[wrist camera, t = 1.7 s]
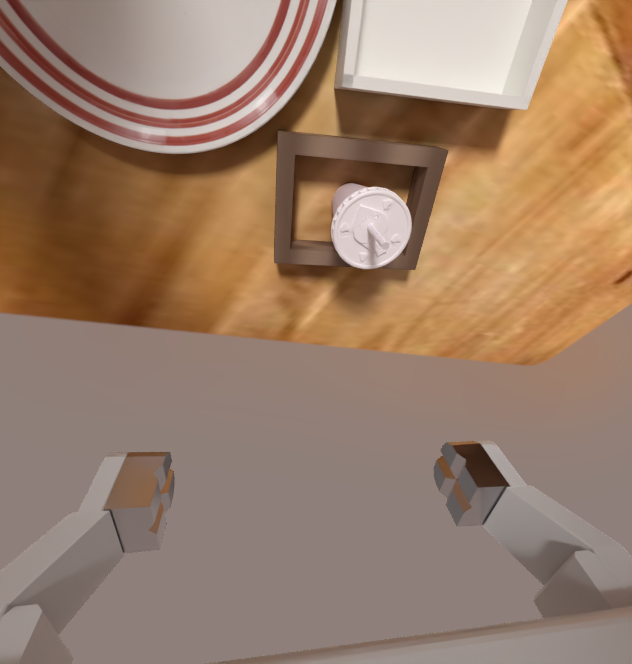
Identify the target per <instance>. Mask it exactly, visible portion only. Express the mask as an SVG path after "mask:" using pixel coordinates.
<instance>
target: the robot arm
mask: <svg viewBox="0 0 632 664" xmlns="http://www.w3.org/2000/svg"><path fill="white" fill-rule="evenodd" d="M441 453H442V454H443V456H441V457H440V458H439V459H437V460H436V463H435V466H434V478H435V482H436V485H437V487H438V489H439V491H440V492H441V493H442V494H443V495H445V496H446V497H447V503H446V506H447V508H448V510H449V511H450V514H451V515H452V518H453V519H454V522H455V524H456V526H474V525H483V527H484V528H485V529H486V530H487V531H488V532H489V533H490V534H491V535H492V536H493V537H494V538H495V539H496V540H497V541H498V542H499V543H500V544H501V545H502V546H503V547H504V548H506V549H507V550H508V551H509V552H510V553H511V554H512V555H513V556H514V557H515V558H516V559H517V560H518V561H519V562H520V563H521V564H522V565H523V566H524V567H525V568H526V569H527V570H528V571H529V572H531V573H532V574H533V575H534V576H535V577H536V578H537V579H538V580H539V581H540V582H541V583H542V584H543V585H544V586H543V587H542V589H541V590H540V591H539V592H538V593H537V594H536V595H535V598H534V602H535V604H536V606H537V608H538V610H539V611H540V613H541V615H542V617H543V618H540V619H533V620H526V621H519V622H511V623H503V624H496V625H488V626H482V627H473V628H466V629H459V630H451V631H444V632H437V633H429V634H422V635H414V636H407V637H400V638H392V639H385V640H377V641H370V642H362V643H355V644H348V645H341V646H333V647H326V648H319V649H311V650H303V651H296V652H289V653H281V654H274V655H266V656H259V657H251V658H245V659H237V660H230V661H222V662H215V663H208V664H632V557H631V556H630V555H629V553H628V552H627V551H626V550H625V549H624V548H623V546H622V545H620V544H619V543H617V542H616V541H614V540H613V539H611V538H610V537H608V536H606V535H605V534H604V533H602V532H601V531H599V530H598V529H596V528H595V527H593V526H592V525H590V524H588V523H587V522H585V521H584V520H582V519H581V518H579V517H578V516H576V515H575V514H573V513H572V512H570V511H569V510H567V509H566V508H564V507H563V506H561V505H560V504H558V503H557V502H555V501H554V500H552V499H551V498H549V497H548V496H546V495H545V494H543V493H542V492H540V491H539V490H537V489H536V488H534V487H533V486H527V485H526V484H525V482H524V481H523V480H522V478H521V477H520V476H519V474H518V473H517V472H516V470H515V469H514V468H513V466H512V465H511V464H510V462H509V461H508V460H507V458H506V457H505V456H504V454H503V453H502V452H501V450H500V449H499V448H498V446H497V445H496V444H495V443H494V442H492V441H476V442H475V441H467V442H447V443H445V444H444V445H443V446H442V448H441ZM171 462H172V459H171V454H170V452H130V453H129V452H128V453H109V454H108V455H107V456H106V457H105V458H104V459H103V462H102V463H101V465H100V468H99V469H98V471H97V473H96V476H95V478H94V480H93V482H92V484H91V486H90V488H89V490H88V492H87V494H86V496H85V498H84V500H83V502H82V504H81V506H80V508H79V510H78V512H73V513H70V514H69V515H67V516H66V517H65V518H64V519H62V520H61V521H60V522H59V523H58V524H56V525H55V526H54V527H53V528H52V529H51V530H49V531H48V532H47V533H46V534H44V535H43V536H42V537H41V538H40V539H38V540H37V541H36V542H35V543H33V544H32V545H31V546H30V547H29V548H27V549H26V550H25V551H24V552H23V553H21V554H20V555H19V556H18V557H16V558H15V559H14V560H13V561H12V562H10V563H9V564H8V565H7V566H6V567H4V568H3V569H2V570H1V571H0V664H72V661H73V657H72V655H71V653H70V651H69V650H68V648H67V647H66V645H65V644H64V642H63V641H62V640H61V638H60V637H59V634H60V633H61V631H62V630H63V629H64V628H65V626H66V625H67V624H68V623H69V622H70V620H71V619H72V618H73V617H74V616H75V614H76V613H77V612H78V610H80V608H81V607H82V606H83V605H84V603H85V602H86V601H87V600H88V599H89V597H90V596H91V595H92V594H93V593H94V591H95V590H96V589H97V588H98V586H99V585H100V584H101V583H102V582H103V580H104V579H105V578H106V577H107V576H108V574H109V573H110V572H111V570H112V569H113V568H114V567H115V566H116V565H117V564H118V562H119V561H120V560H121V559H122V557H123V556H124V554H123V553H132V552H142V551H151V550H159V549H160V547H161V543H162V539H163V535H164V531H165V527H166V518H165V512H166V511H167V510H168V509H169V508H170V507H171V503H172V498H173V492H174V471H172V470H171V469H170V465H171Z"/></svg>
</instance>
